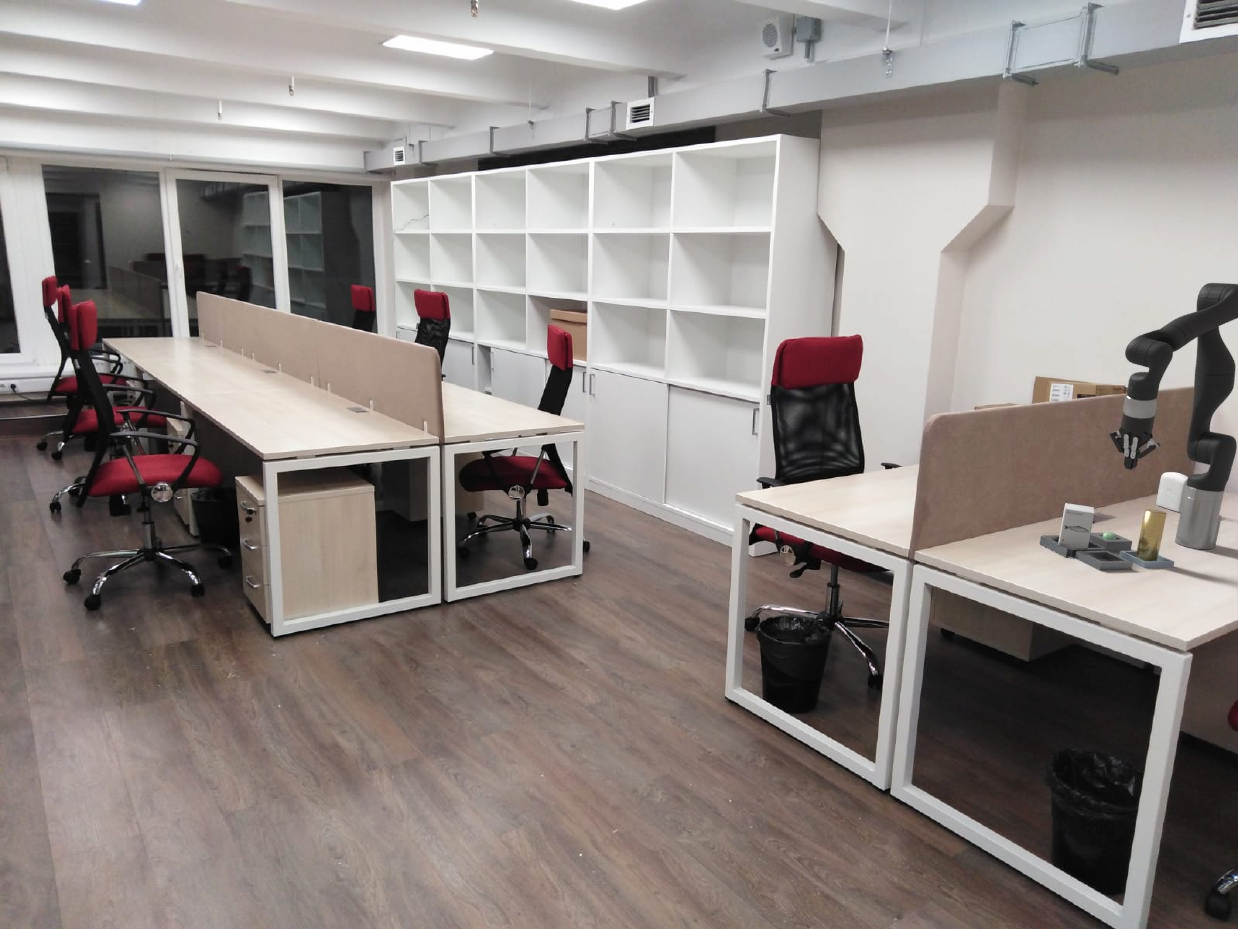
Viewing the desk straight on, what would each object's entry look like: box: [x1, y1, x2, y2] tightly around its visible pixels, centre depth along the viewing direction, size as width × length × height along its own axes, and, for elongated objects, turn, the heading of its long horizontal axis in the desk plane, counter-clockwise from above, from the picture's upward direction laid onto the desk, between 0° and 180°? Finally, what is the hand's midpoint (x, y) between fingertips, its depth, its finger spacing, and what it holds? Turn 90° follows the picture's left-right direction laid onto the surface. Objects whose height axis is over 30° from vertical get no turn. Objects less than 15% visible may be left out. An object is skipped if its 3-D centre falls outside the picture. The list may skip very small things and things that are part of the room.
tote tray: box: [1118, 550, 1175, 569], centre depth 234 cm, size 9×9×2 cm
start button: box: [1102, 531, 1118, 539], centre depth 244 cm, size 3×3×3 cm
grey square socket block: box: [1089, 531, 1133, 553], centre depth 245 cm, size 8×8×4 cm
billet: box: [1136, 508, 1167, 561], centre depth 232 cm, size 5×5×14 cm
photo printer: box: [1155, 471, 1189, 513], centre depth 290 cm, size 10×4×12 cm, turn 13°
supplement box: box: [1058, 502, 1095, 548], centre depth 240 cm, size 7×7×13 cm
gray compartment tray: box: [1039, 534, 1134, 572], centre depth 237 cm, size 12×23×2 cm, turn 10°
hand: (1129, 468), depth 239 cm, fingers closed
